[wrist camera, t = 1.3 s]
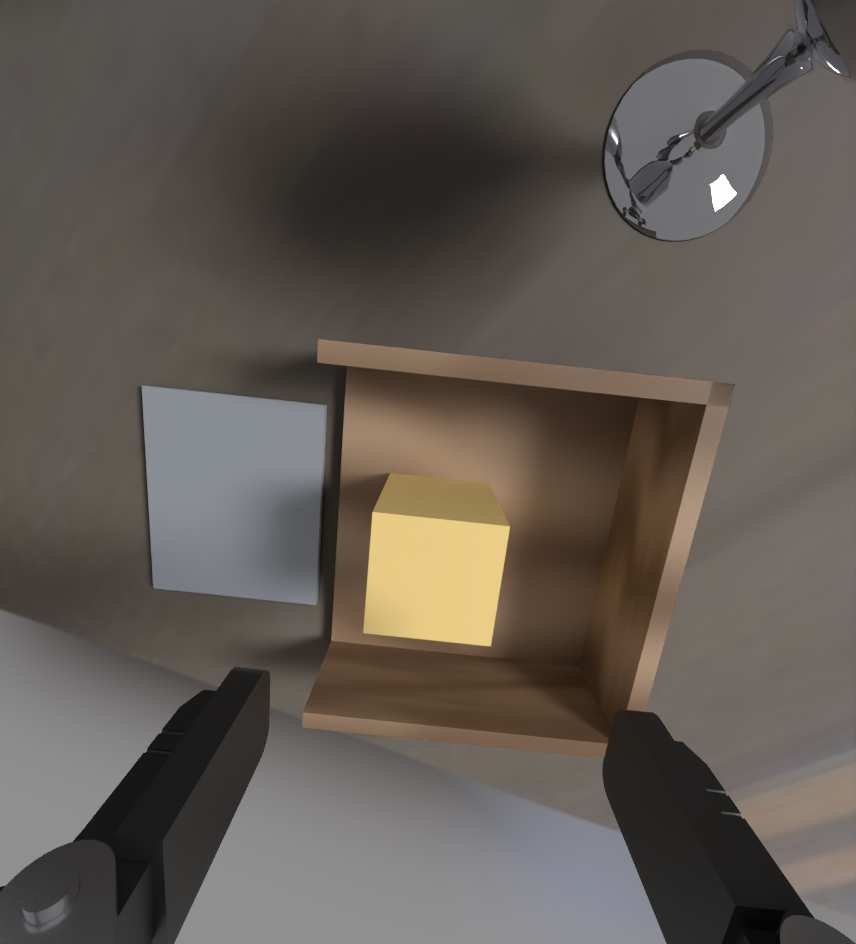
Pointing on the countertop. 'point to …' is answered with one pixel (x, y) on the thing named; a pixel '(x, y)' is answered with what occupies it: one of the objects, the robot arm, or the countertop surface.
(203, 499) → the mat
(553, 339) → the countertop surface
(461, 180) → the countertop surface
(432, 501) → the block
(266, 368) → the countertop surface
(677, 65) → the wine glass
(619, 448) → the box
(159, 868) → the robot arm
